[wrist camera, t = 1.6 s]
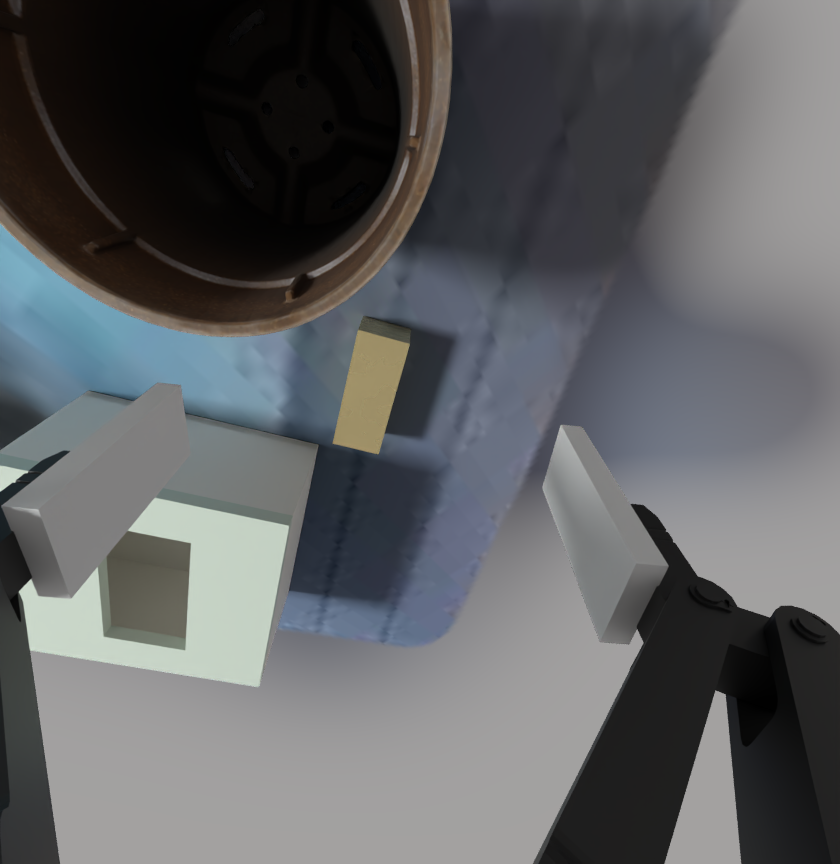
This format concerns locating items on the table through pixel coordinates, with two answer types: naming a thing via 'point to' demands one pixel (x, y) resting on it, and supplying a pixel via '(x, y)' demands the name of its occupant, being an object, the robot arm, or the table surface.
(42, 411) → the table surface
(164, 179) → the plant pot
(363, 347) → the tan square pillar
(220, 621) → the tissue box
